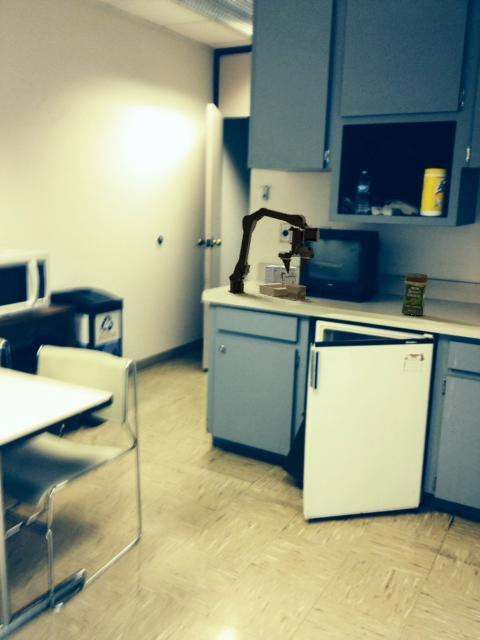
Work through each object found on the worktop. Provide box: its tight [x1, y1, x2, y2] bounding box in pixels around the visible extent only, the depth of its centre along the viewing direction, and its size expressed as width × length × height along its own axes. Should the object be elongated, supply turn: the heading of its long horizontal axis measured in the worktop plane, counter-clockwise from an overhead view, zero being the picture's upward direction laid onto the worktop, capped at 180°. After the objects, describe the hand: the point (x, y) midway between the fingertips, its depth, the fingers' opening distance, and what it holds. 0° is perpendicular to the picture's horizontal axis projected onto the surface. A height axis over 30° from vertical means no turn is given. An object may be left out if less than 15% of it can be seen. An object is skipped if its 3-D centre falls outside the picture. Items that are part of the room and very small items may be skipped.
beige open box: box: [256, 283, 286, 297], centre depth 320 cm, size 15×18×4 cm
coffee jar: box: [401, 272, 428, 316], centre depth 275 cm, size 10×8×19 cm
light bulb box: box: [264, 264, 283, 284], centre depth 352 cm, size 11×7×11 cm, turn 136°
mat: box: [281, 296, 310, 302], centre depth 307 cm, size 10×9×1 cm
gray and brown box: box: [285, 284, 307, 299], centre depth 307 cm, size 5×9×6 cm, turn 35°
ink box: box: [280, 265, 298, 285], centre depth 341 cm, size 9×5×12 cm, turn 73°
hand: (295, 272), depth 307 cm, fingers open, 9 cm apart
